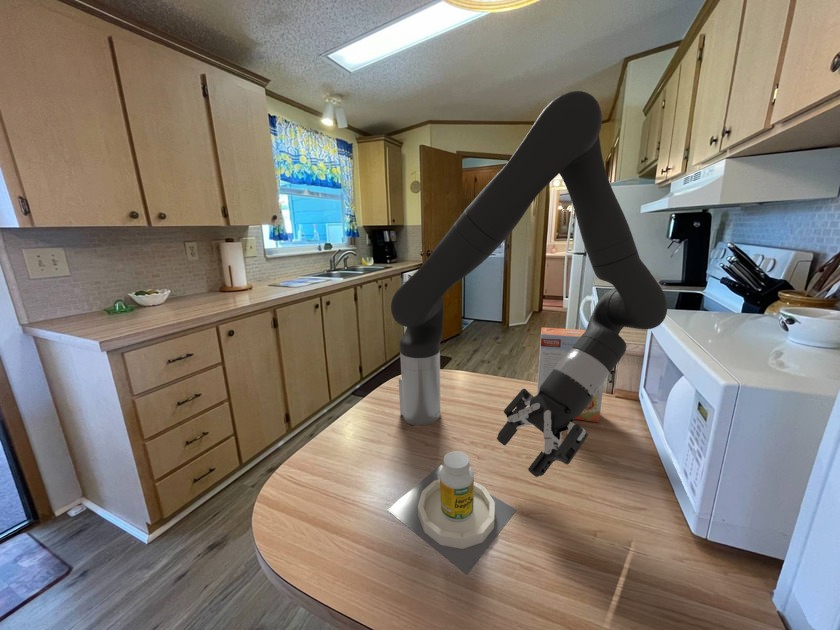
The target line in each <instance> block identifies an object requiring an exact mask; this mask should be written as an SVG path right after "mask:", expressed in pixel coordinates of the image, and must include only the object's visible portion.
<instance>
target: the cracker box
mask: <svg viewBox="0 0 840 630" xmlns="http://www.w3.org/2000/svg"><path fill="white" fill-rule="evenodd" d="M585 331H586V329H571V328H557V327H556V328H555V327H543V326H542V327H541V328H540V342H539V359H538V374H537V390H536V391H537V392H536V395H537V394H538V393H539V391H540V386H541V385H542V383H543V382H544V381H545V380H546V378H547V377H548V376H549V374H550V373H551V372H552V371H553V369H554V368H555V367H556V365H557V364H558V363H559V362H560V360H561V359H562V358H563V357H564V356H565V355H566V354H567V353H568V352H569V351H570V350H571V349H572V348H573V346H574V345H575V344H576V342H577V341H578V340H579V339H580V337H581V336H582V335H583V334H584V332H585ZM603 392H604V384H603V385H602V387H601V388H600V389H599V391H598V392H597V393H596V395H595V396H594V397H593V399H592V400H591V401H590V403H589V404H588V405H587V406H586V408H585V409H584V410H583V412H582V413H581V414H580V416H578V417H576V418H575V419H574V420H579V421H587V422H593V423H599V422H600V418H601V408H602V400H603V394H604V393H603Z"/></svg>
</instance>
